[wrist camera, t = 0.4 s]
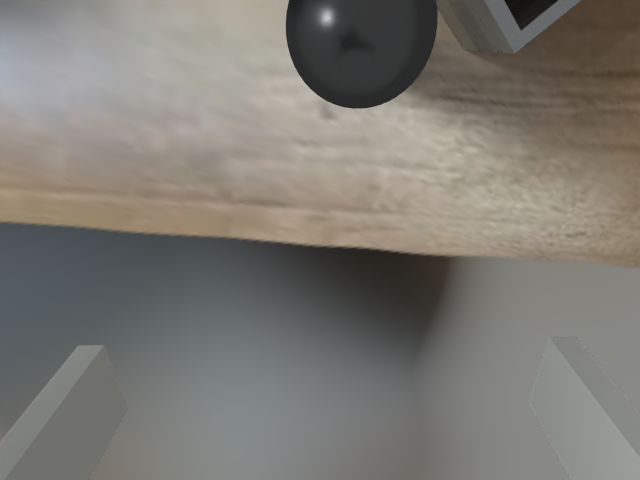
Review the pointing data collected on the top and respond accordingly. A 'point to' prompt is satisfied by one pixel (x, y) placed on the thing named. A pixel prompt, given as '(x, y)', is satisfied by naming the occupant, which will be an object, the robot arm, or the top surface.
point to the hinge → (500, 21)
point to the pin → (360, 47)
